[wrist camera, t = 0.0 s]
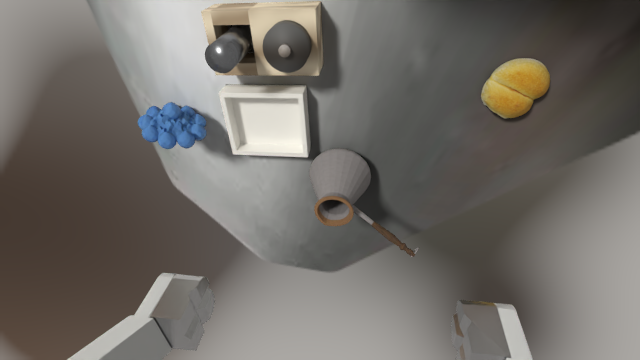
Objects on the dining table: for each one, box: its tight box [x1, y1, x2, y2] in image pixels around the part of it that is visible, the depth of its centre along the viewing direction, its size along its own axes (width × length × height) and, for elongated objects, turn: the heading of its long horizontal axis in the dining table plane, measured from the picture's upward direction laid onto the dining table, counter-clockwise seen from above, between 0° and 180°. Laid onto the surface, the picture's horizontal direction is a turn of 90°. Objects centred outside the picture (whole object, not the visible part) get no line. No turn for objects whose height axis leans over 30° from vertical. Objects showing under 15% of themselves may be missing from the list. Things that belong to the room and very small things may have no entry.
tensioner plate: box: [201, 1, 323, 76], centre depth 51 cm, size 9×16×8 cm, turn 93°
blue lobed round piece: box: [138, 102, 206, 149], centre depth 59 cm, size 12×7×12 cm, turn 80°
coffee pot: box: [309, 148, 419, 257], centre depth 62 cm, size 21×12×15 cm, turn 66°
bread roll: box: [481, 58, 550, 119], centre depth 52 cm, size 8×9×4 cm
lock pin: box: [205, 25, 253, 73], centre depth 50 cm, size 4×4×11 cm
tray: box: [219, 84, 311, 157], centre depth 61 cm, size 12×14×4 cm
